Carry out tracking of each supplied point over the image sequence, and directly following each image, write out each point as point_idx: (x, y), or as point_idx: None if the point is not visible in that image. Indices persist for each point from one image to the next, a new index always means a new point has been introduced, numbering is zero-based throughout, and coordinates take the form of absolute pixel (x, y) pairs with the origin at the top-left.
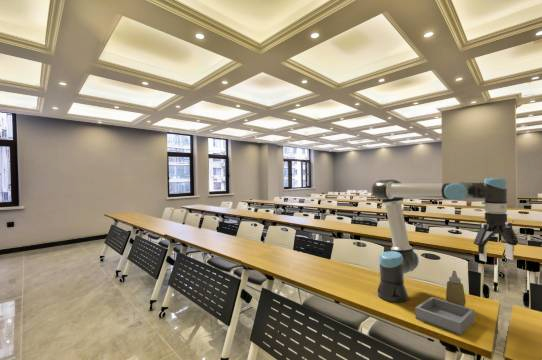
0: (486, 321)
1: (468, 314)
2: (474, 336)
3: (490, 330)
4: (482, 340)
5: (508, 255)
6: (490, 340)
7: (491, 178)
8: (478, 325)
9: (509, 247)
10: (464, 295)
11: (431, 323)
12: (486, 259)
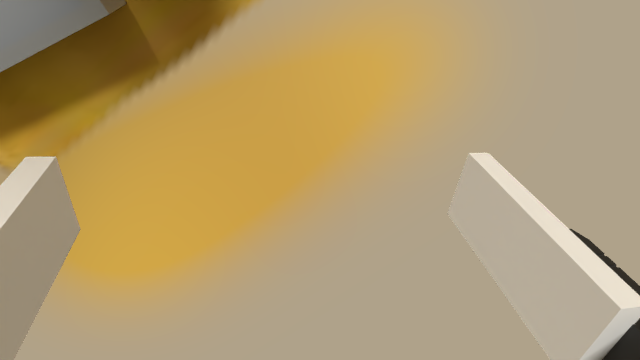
0: (185, 21)
1: (29, 52)
2: (26, 108)
3: (137, 86)
4: (43, 135)
5: (478, 211)
6: (78, 140)
7: None
8: (113, 41)
9: (550, 312)
10: None
11: None
12: (67, 250)
